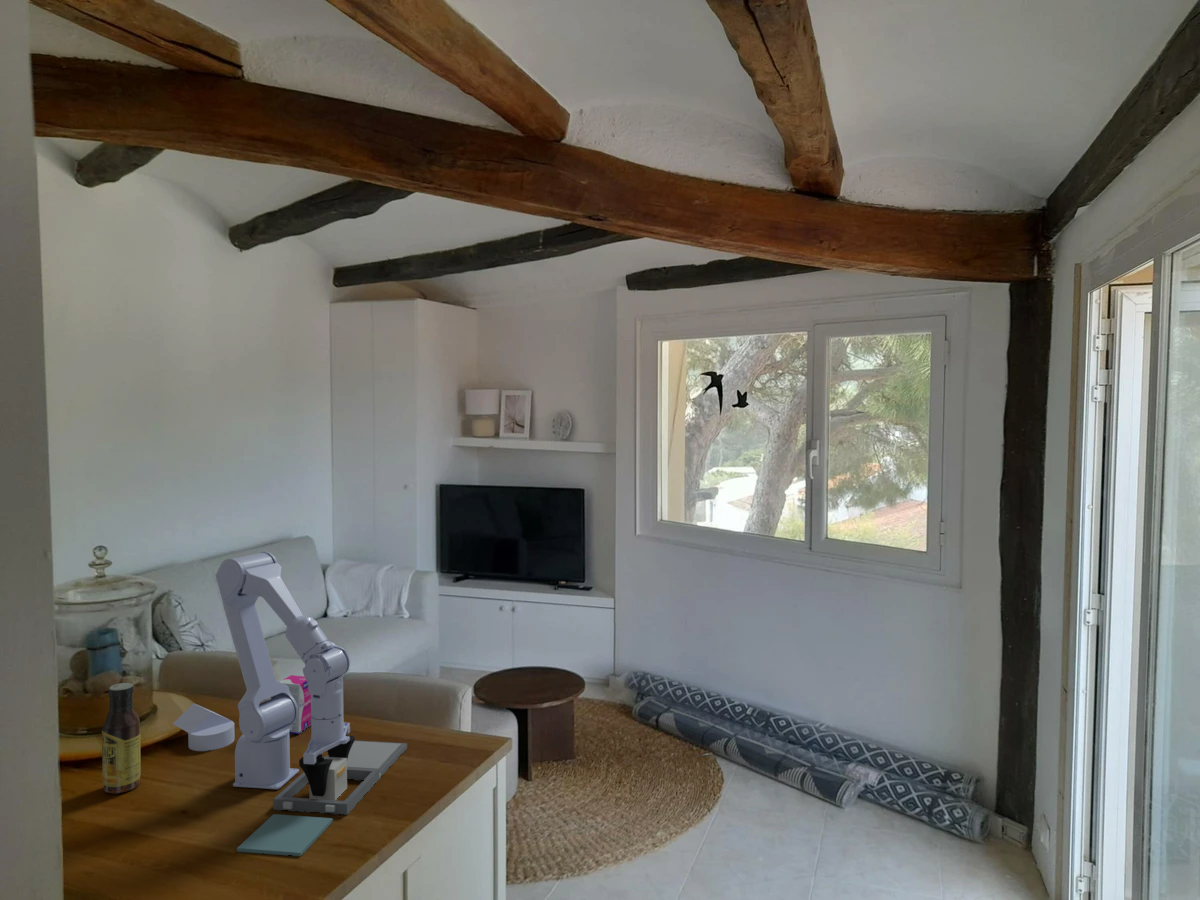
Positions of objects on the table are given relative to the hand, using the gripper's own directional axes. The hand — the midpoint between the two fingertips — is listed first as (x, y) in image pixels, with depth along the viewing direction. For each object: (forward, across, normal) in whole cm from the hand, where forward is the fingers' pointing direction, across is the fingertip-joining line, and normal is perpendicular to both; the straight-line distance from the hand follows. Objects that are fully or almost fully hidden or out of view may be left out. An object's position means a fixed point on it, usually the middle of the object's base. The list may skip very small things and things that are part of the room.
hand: (328, 785), depth 148 cm
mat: (+2, -15, 0) cm, 15 cm away
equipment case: (+2, +7, 0) cm, 7 cm away
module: (+2, 0, 0) cm, 2 cm away
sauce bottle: (+2, -3, +40) cm, 40 cm away
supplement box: (+2, +28, +22) cm, 36 cm away
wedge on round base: (+2, +20, +38) cm, 43 cm away
